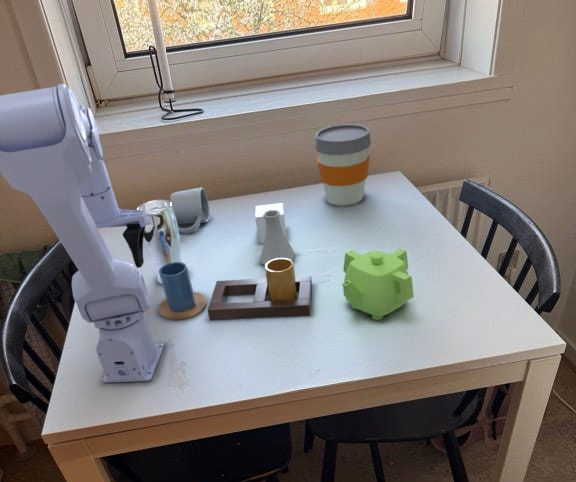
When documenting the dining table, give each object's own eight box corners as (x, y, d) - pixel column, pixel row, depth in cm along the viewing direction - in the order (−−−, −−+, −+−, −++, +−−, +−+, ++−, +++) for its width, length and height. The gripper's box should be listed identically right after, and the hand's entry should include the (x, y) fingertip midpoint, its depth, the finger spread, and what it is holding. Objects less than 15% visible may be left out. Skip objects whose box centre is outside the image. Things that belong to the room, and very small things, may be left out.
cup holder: (310, 315, 96) (309, 304, 95) (209, 320, 98) (207, 310, 97) (312, 285, 104) (311, 275, 102) (218, 290, 106) (216, 280, 104)
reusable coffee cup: (345, 183, 139) (342, 120, 130) (381, 195, 132) (382, 129, 122) (308, 200, 134) (302, 135, 124) (344, 213, 126) (341, 145, 116)
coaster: (202, 319, 99) (201, 317, 98) (153, 321, 100) (153, 319, 100) (210, 292, 105) (210, 290, 105) (165, 295, 107) (164, 293, 106)
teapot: (344, 289, 101) (341, 240, 95) (407, 286, 100) (409, 236, 93) (343, 326, 93) (341, 275, 86) (413, 323, 91) (415, 271, 85)
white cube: (286, 240, 119) (283, 214, 115) (259, 243, 119) (255, 217, 115) (285, 228, 123) (282, 202, 119) (259, 231, 124) (255, 205, 120)
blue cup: (192, 311, 100) (183, 275, 95) (166, 312, 101) (155, 276, 96) (198, 296, 104) (189, 261, 99) (172, 298, 105) (162, 262, 100)
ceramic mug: (178, 216, 135) (170, 185, 129) (211, 213, 134) (204, 182, 129) (170, 236, 127) (161, 204, 122) (205, 233, 126) (197, 201, 121)
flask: (253, 265, 112) (246, 218, 105) (270, 249, 116) (264, 203, 110) (284, 270, 109) (278, 223, 102) (301, 254, 113) (296, 207, 107)
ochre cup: (296, 308, 98) (292, 271, 93) (268, 309, 99) (263, 272, 94) (298, 293, 102) (294, 257, 97) (271, 294, 103) (266, 258, 98)
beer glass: (183, 287, 108) (164, 214, 98) (150, 286, 110) (128, 214, 100) (194, 269, 113) (177, 198, 103) (163, 269, 115) (143, 199, 105)
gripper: (144, 176, 89) (165, 252, 98) (60, 183, 91) (88, 257, 100) (131, 194, 84) (154, 272, 93) (42, 200, 86) (73, 276, 95)
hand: (119, 266), depth 96 cm, fingers open, 7 cm apart
